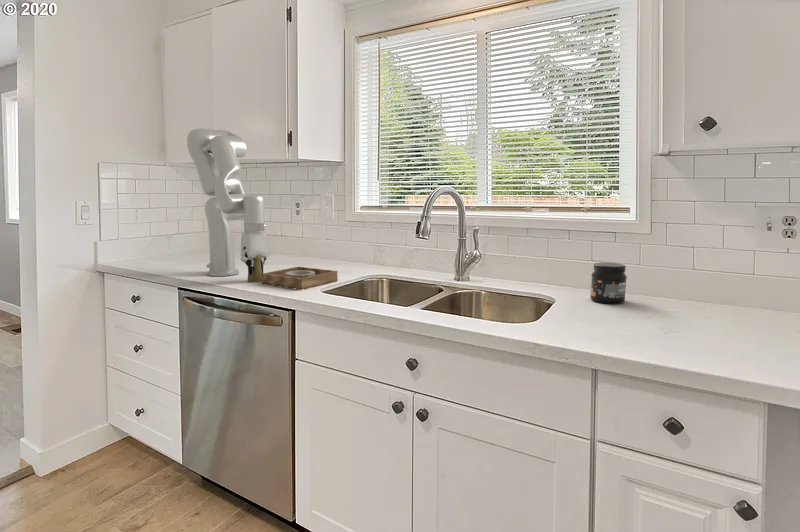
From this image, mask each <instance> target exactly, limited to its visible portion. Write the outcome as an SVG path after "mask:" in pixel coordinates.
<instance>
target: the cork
mask: <svg viewBox="0 0 800 532" xmlns="http://www.w3.org/2000/svg"><path fill="white" fill-rule="evenodd" d="M261 259H262V257H261V255H257V256H256V257H255V258H253V261H254V266H253V267H255V271H253V267H252V274H251V275H249V274H248V273H247V281H248V282H247V281H246V282H247V283H250V282H258V283H262V268H261V262H260V261H261ZM248 260H249V259H248ZM249 261H250V262H251V260H249Z"/></svg>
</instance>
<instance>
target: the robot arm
mask: <svg viewBox="0 0 800 532" xmlns="http://www.w3.org/2000/svg"><path fill="white" fill-rule="evenodd" d="M186 136H187V138H186V146H187V147H186V148H187V151H188V153H189V156H190V157H191V159H192V161H193V164H194V165H195V167H196V170H197V171H196V172H197V174H198V178H199V181H200V185H201V189H202V191H203V192H204V194H205V195H206V196H209V197H210V198H209V199H207V200H206V202H204V203H205V204H204V213H205V217H206V220H207V230H208V240H209V241H208V242H209V243H208V245H209V263H208V264H206V265H205V266H206V268H208V269H209V270H207V272H206V275H207V276H209V277H210V276H211V277H226V276H227V277H229V275H230V276H235V274H236V275H238V274H239V273H240V270H239V269H236V263H235V262H236V261H235V260H236V259H235V245H234V244H235V243H234V242H235V241H234V240H235V239H234V238H235V237H234V230H233V228H232V227H231V225H230V223H229V221H237V220H243V232H242V233H241V239H240V240H241V241H240V261H242V262H243V263H244V264H245V265H246V267H247V275H248V274H249V275H251V274H252V267H253V266H254V261H253V258H255V257H256V256H257V255H261V257H262V259H261V261H260V262H261V268H262V273H264V265H265V262H266V260H267V259H268V258H270V254H269V247H268V245H269V244H268V237H267V233H266V231H265V228H266V224H265V208H264V207H265V205H264V204H265V202H264V200H265V199H264V197H263V196H262V195H260V194H258V195H257V194H254V195H253V194H252V193H251V194H250V193H246V192H245V190H244V186H243V183H242V181H241V179H240V177H239V175H240V174H241V172H242V167H241V165H240V161H239V159H241V158H244V157H245V156H246V155H247V153H248V147H247V143H246V141H245V139H244V138H243V137H241V136H240V135H238V134H235V133H232V132H231V131H228V130H222V129H221V130H220V129H211V128H195V129H192V130H190V131H189V132H188V134H187V135H186ZM208 151H211V153H210V152H208ZM238 158H239V159H238ZM248 259H249V260H251V262H250V261H249V260H248ZM253 271H255V267H253Z"/></svg>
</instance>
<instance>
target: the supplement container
mask: <svg viewBox="0 0 800 532" xmlns="http://www.w3.org/2000/svg"><path fill="white" fill-rule="evenodd" d="M626 268H627V267H626V265H625V264H623V263H618V262H595V263H594V264H593V272H592V273H591V286H590V300H591V301H593V302H595V303H599V304H605V305H618V304H619V305H620V304H623V303H624V302H625V301H626V286H627V279H628V276H627V274H626V273H625V272H626V271H627V269H626Z"/></svg>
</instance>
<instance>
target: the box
mask: <svg viewBox="0 0 800 532" xmlns="http://www.w3.org/2000/svg"><path fill="white" fill-rule="evenodd" d="M335 282H336V283H337V282H338V270H333V269H331V270H330V269H322V268H316V267H315V268H313V267H307V266H305V267H304V266H294V267H289V268H283V269H278V270H274V271H269V272H263V273H262V282H261V285H264V284H267V285H266V286H271V285H274V286H273V287H278V286H281V287H280V288H285V287H288V288H287V289H292V288H296V289H295V290H298V289H304V290H307V289H306V288H308V289H311V288H316V287H319V286H320V287H321V286H324V285H327V284H332V283H335Z"/></svg>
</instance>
